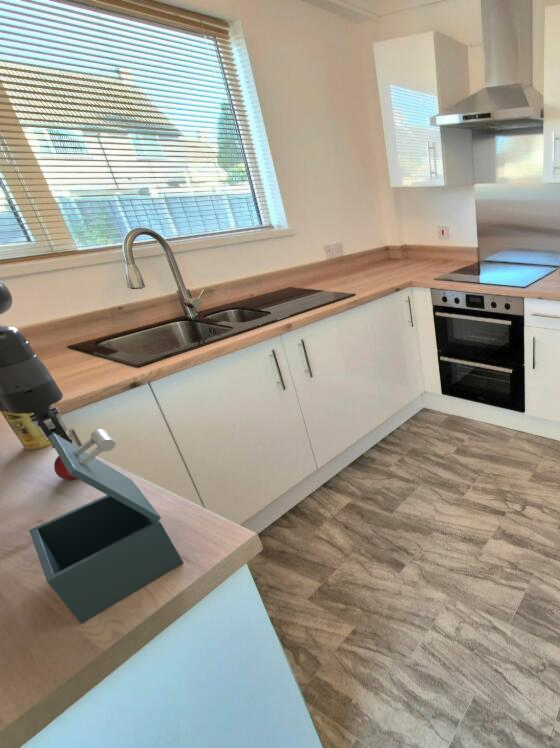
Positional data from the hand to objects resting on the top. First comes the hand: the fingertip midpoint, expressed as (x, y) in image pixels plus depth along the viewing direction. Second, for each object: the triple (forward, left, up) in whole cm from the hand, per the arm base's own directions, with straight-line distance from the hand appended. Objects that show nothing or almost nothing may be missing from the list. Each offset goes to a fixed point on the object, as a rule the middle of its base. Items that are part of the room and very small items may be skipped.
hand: (70, 453), depth 87 cm
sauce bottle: (-3, +24, -7) cm, 26 cm away
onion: (0, 0, -7) cm, 7 cm away
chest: (-2, -36, -7) cm, 36 cm away
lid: (+2, -36, +9) cm, 37 cm away
